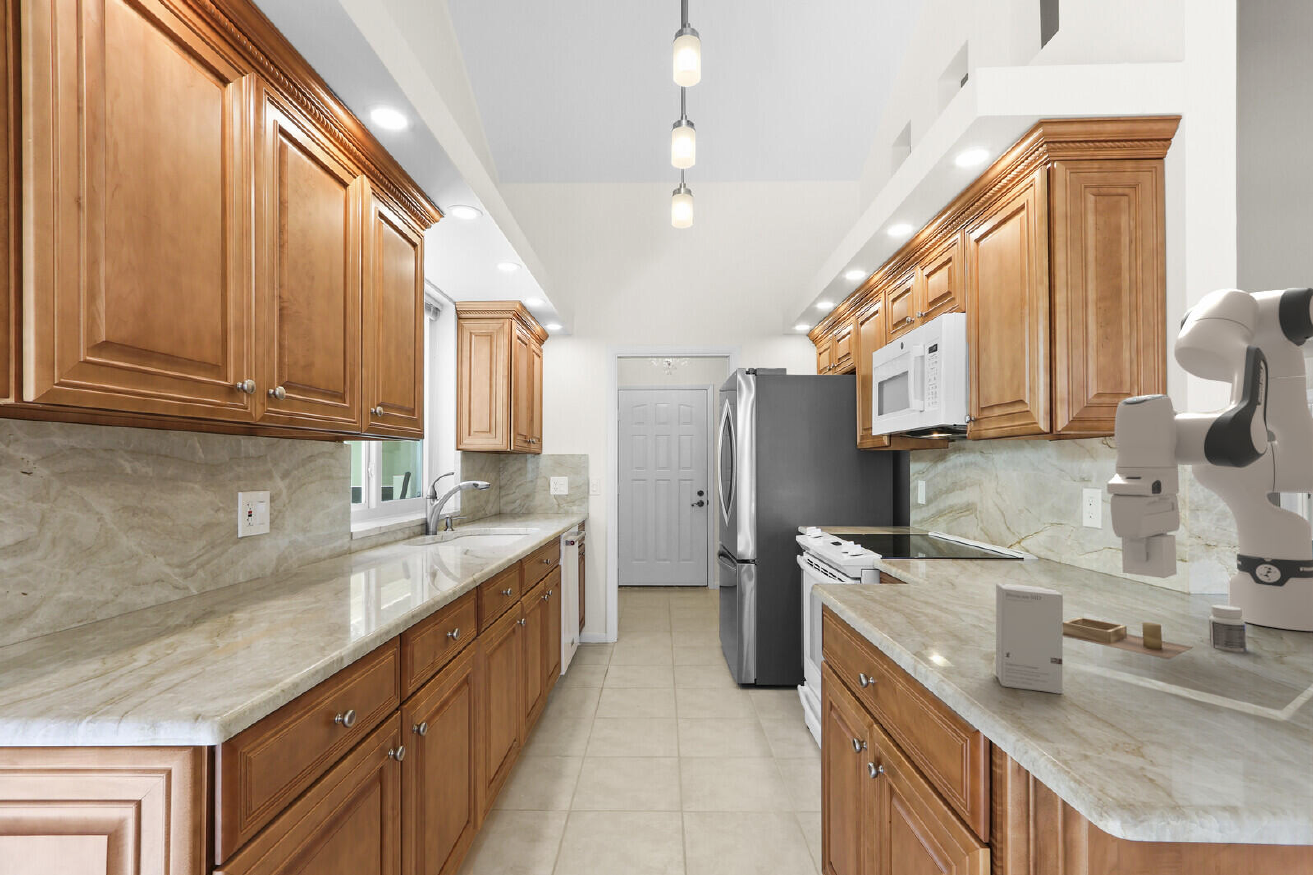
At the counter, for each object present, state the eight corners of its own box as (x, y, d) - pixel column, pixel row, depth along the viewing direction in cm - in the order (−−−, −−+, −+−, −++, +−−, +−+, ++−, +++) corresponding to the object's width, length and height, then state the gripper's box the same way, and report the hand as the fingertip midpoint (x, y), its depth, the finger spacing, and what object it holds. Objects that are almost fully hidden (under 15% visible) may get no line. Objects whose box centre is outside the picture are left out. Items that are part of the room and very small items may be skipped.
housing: (1136, 569, 113) (1134, 531, 113) (1176, 574, 108) (1175, 535, 108) (1122, 572, 109) (1121, 534, 110) (1164, 578, 104) (1162, 537, 105)
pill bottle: (1254, 659, 104) (1252, 611, 105) (1222, 657, 105) (1220, 609, 106) (1233, 651, 109) (1232, 604, 109) (1203, 649, 110) (1202, 603, 110)
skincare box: (1001, 687, 91) (999, 588, 92) (995, 674, 96) (993, 581, 97) (1066, 695, 88) (1063, 593, 88) (1056, 681, 93) (1053, 585, 94)
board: (1084, 631, 122) (1084, 605, 122) (1193, 653, 107) (1192, 624, 108) (1056, 640, 115) (1056, 613, 115) (1168, 666, 101) (1167, 634, 101)
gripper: (1147, 481, 117) (1150, 551, 117) (1102, 484, 106) (1104, 563, 106) (1189, 482, 112) (1191, 556, 112) (1146, 486, 101) (1148, 568, 100)
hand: (1149, 559), depth 109 cm, fingers closed on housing, 6 cm apart
